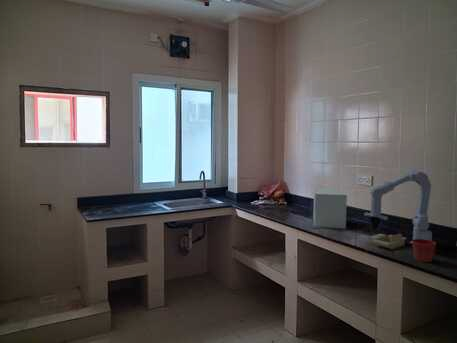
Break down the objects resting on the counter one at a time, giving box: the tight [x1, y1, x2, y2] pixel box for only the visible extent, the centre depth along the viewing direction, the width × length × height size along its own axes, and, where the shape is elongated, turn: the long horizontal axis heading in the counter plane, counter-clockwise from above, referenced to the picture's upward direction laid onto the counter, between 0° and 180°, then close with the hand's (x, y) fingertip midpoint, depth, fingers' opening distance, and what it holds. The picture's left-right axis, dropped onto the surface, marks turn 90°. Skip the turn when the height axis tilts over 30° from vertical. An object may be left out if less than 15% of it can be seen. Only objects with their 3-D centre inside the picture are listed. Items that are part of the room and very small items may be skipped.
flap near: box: [388, 232, 404, 243], centre depth 199 cm, size 4×12×1 cm
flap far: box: [369, 233, 387, 240], centre depth 208 cm, size 4×12×1 cm, turn 126°
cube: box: [312, 188, 348, 229], centre depth 254 cm, size 25×21×24 cm
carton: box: [370, 234, 407, 250], centre depth 202 cm, size 11×22×3 cm, turn 125°
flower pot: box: [411, 238, 437, 263], centre depth 177 cm, size 11×11×10 cm
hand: (375, 229), depth 209 cm, fingers closed
